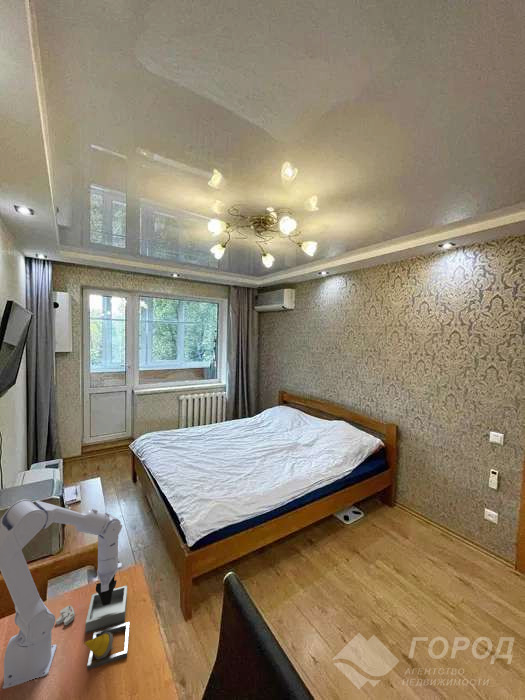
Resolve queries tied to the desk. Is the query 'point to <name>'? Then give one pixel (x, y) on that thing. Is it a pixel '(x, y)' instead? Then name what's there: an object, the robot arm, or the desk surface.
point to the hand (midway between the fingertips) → (107, 595)
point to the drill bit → (101, 645)
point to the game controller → (66, 615)
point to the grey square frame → (115, 656)
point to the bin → (107, 611)
